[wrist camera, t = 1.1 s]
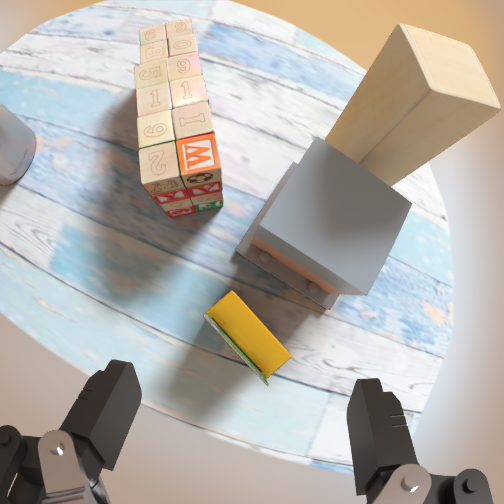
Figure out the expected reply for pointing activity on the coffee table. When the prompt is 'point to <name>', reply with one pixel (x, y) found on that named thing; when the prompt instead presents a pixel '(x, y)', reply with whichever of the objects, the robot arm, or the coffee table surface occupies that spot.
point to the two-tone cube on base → (326, 226)
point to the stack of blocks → (175, 122)
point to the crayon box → (247, 335)
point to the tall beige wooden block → (413, 104)
